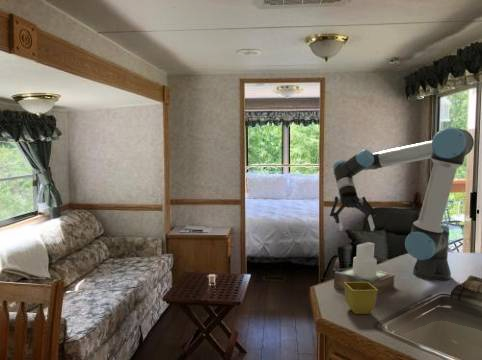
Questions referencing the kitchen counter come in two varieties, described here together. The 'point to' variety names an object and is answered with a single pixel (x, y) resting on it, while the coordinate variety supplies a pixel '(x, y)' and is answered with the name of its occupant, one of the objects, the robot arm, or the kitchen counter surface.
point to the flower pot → (360, 296)
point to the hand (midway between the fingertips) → (357, 229)
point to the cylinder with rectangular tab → (365, 260)
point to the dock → (365, 280)
